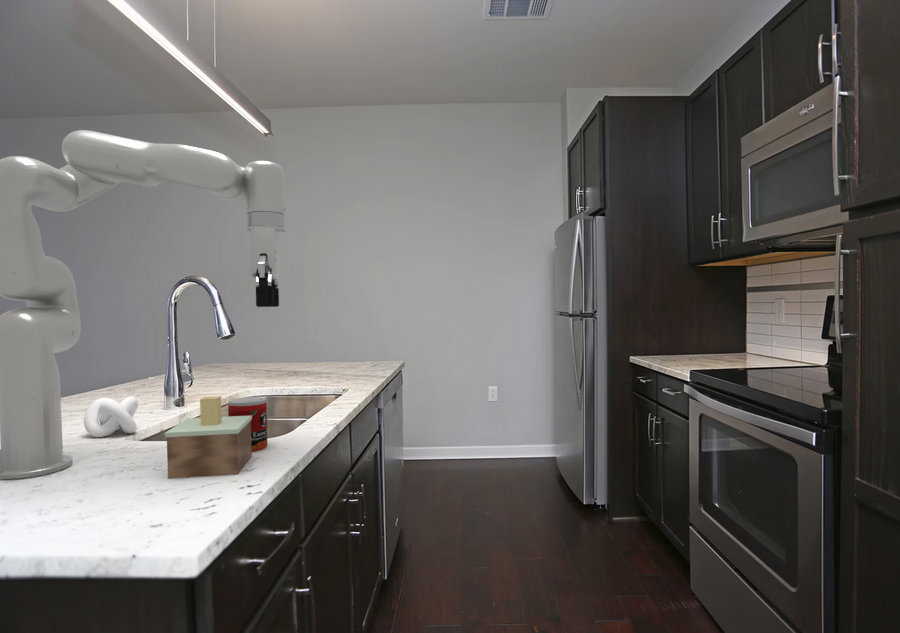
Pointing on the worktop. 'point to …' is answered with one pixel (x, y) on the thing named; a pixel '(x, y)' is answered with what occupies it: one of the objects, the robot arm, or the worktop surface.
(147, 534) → the worktop surface
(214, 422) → the lid
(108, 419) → the white knot sculpture
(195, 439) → the box
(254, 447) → the canned food
